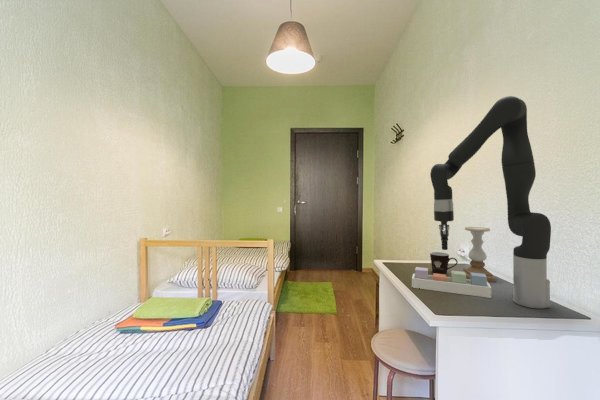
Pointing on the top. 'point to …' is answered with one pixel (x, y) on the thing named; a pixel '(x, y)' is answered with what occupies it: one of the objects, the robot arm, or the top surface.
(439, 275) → the terracotta key
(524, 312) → the top surface
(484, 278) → the light blue block
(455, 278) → the sage green key
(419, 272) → the lavender block
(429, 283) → the frame
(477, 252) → the candle holder
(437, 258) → the coffee mug
